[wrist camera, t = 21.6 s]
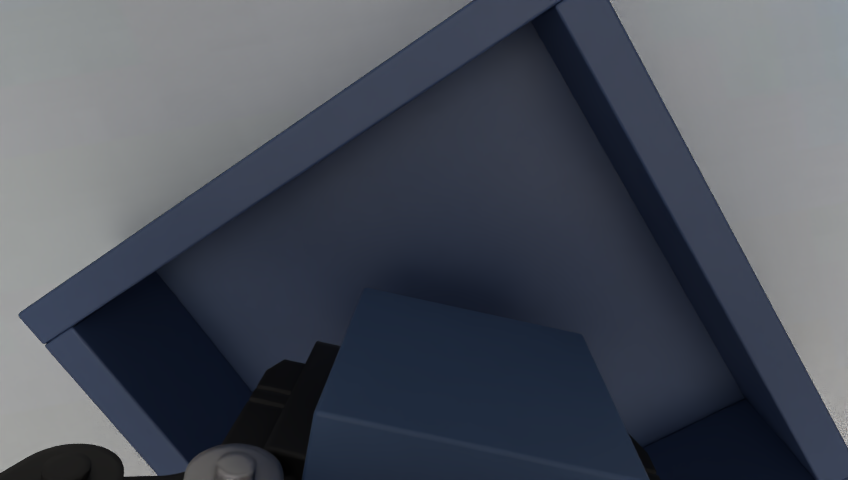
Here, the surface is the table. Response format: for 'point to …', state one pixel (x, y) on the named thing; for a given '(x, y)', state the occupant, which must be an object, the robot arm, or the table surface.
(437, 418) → the slate block
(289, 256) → the slate bin
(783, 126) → the table surface
